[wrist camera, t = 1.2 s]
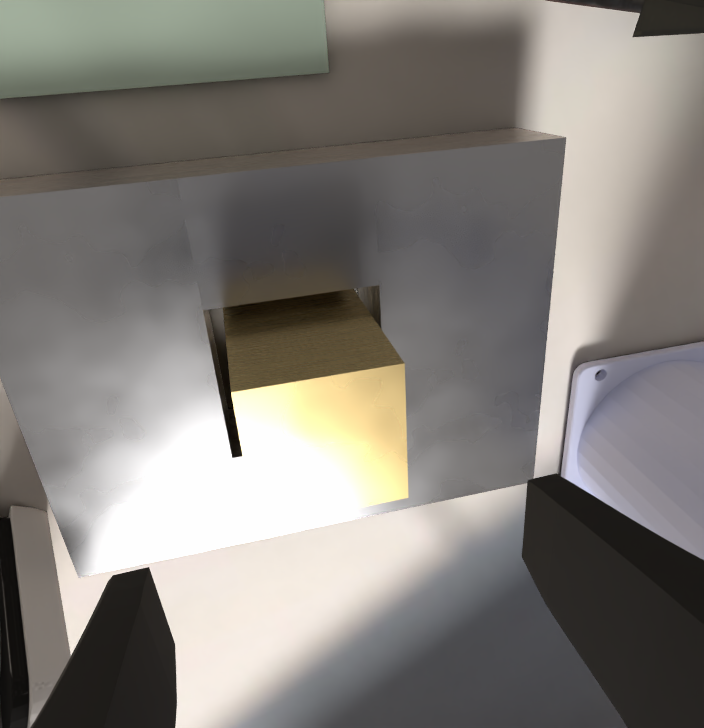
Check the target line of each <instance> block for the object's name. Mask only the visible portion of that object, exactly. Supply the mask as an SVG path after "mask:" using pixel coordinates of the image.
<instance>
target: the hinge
mask: <svg viewBox="0 0 704 728" xmlns="http://www.w3.org/2000/svg"><path fill="white" fill-rule="evenodd" d="M70 657H71V655H70V649H69V643H68V637H67V631H66V625H65V619H64V612H63V606H62V600H61V594H60V588H59V582H58V576H57V570H56V564H55V558H54V552H53V546H52V540H51V533H50V527H49V521H48V515H47V512H46V511H43V510H40V509H37V508H32V507H22V506H11V507H10V511H9V515H8V518H0V728H30V727H31V726H32V724H33V723H34V721H35V719H36V718H37V716H38V714H39V713H40V711H41V709H42V708H43V706H44V704H45V702H46V701H47V699H48V697H49V695H50V694H51V692H52V690H53V688H54V686H55V684H56V683H57V681H58V679H59V677H60V675H61V673H62V672H63V670H64V668H65V666H66V664H67V663H68V661H69V659H70Z"/></svg>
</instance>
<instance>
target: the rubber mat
mask: <svg viewBox="0 0 704 728" xmlns="http://www.w3.org/2000/svg"><path fill="white" fill-rule="evenodd" d="M319 73H329V64H328V50H327V37H326V24H325V10H324V0H0V99H3V98H16V97H28V96H41V95H54V94H66V93H79V92H91V91H104V90H117V89H129V88H142V87H155V86H167V85H180V84H192V83H205V82H218V81H230V80H243V79H256V78H268V77H281V76H293V75H306V74H319Z"/></svg>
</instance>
